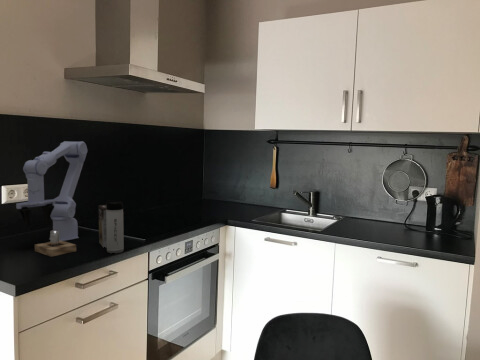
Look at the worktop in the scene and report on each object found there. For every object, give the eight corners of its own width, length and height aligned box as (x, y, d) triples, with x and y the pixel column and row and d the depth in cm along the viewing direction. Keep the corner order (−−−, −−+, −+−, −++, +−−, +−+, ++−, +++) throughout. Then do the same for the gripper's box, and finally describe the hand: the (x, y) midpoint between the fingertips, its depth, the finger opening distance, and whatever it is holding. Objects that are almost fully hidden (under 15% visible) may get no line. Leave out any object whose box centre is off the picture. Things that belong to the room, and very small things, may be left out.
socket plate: (59, 246, 162) (59, 240, 161) (76, 251, 154) (76, 244, 154) (34, 251, 153) (34, 244, 153) (51, 256, 146) (51, 250, 146)
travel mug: (112, 248, 159) (111, 199, 157) (126, 250, 157) (126, 200, 155) (102, 252, 153) (101, 201, 151) (117, 254, 151) (116, 202, 149)
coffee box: (98, 242, 168) (97, 205, 166) (114, 241, 171) (113, 204, 169) (102, 248, 160) (102, 208, 158) (119, 246, 163) (118, 207, 161)
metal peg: (56, 249, 156) (56, 229, 155) (61, 250, 155) (61, 230, 154) (49, 251, 153) (48, 231, 153) (54, 252, 152) (53, 232, 151)
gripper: (22, 193, 148) (23, 228, 150) (58, 189, 160) (59, 222, 161) (12, 191, 152) (14, 226, 154) (49, 188, 164) (50, 220, 166)
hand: (37, 224), depth 158 cm, fingers open, 7 cm apart
